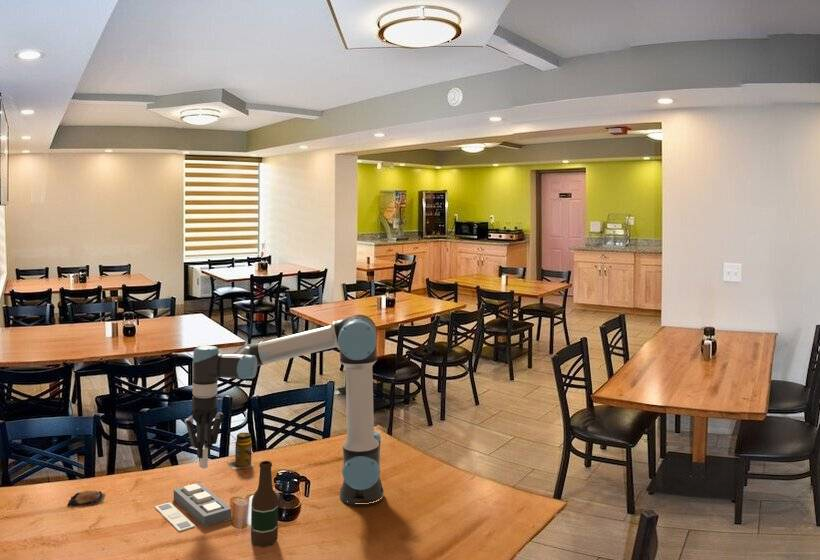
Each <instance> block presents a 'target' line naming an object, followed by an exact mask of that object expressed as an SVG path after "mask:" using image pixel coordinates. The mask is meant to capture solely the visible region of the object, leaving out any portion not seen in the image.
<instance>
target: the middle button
mask: <svg viewBox="0 0 820 560" xmlns="http://www.w3.org/2000/svg"><path fill="white" fill-rule="evenodd" d="M192 501H193V502H194V503H196V504H201V503H204V502H208V501H211V495H210V494H209V493H207V492H206V491H204V492H200V493H196V494H193V499H192Z"/></svg>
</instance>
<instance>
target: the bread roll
mask: <svg viewBox="0 0 820 560" xmlns="http://www.w3.org/2000/svg"><path fill="white" fill-rule="evenodd" d="M105 497H106V493H103V492H102V491H101V490H99V491H98V490H85V491H81V492H76V493H75V494H74V495H73V496H70V499H69V500H68V502H67V506H68V507H70V508H71V507H72V508H73V507H84V506H93V505H100V504H104V501H105Z"/></svg>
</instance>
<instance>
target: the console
mask: <svg viewBox="0 0 820 560" xmlns="http://www.w3.org/2000/svg"><path fill="white" fill-rule="evenodd" d="M196 484H197V485H199V486H200V487H201V488H202V492H204V491H206V492H207V493H209V494H210V495H211V501H208V502H204V503H201V504H196V503H194V502H193V501H192V499H193V495H190V496H186V495H185V494H184V493H183V487H184V486H182V487H179V488H175V489H173V501H175V503H177V505H179V506H180V508H182V509H183V510H184V511H185V512H187V514H189V516H191V517H192V518H193V519H194V520H195V521H196V522H197V523H199V524H200V525H201V526H202V527H203V528H207V527H210V526H215V525H216V524H217V525H218V524H220V523H221V524H222V523H224V522H226V521H230V520H232V516H233V515H232V516H231V508H232V507H231V506H230V505H228V504H227V503H226V502H225V501H223V500H222V499H221V498H219V496H217V495H216V494H215V493H214V492H212V491H211V490H210V489H209V488H207V487H206V486H204V485H203V484H202V483H201V482H198V483H196ZM213 502H216V503H218V504H219V505H220V506H221V507H222V509H220V510H217V511H213V512H210V513H206V512H205V511H204V510H202V505H206V504H209V503H213Z"/></svg>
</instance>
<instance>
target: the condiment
mask: <svg viewBox="0 0 820 560" xmlns="http://www.w3.org/2000/svg"><path fill="white" fill-rule="evenodd" d="M252 442H253V441H252V435H251V433H250V432H239V433H238V434H236V441H235V448H234V449H235V452H234V453H235V454H234V455H235V456H234V458H235V459H234V461H229V462H227V465H228V466H229V467H230V469H232V470H239V469H246V468H251V467H255V466H256V465H255V464H254V463H253V462H252V456H253V455H252V452H253V451H252V446H253V443H252Z"/></svg>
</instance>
